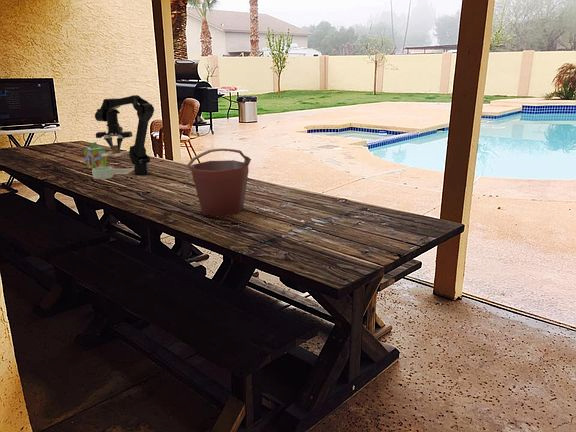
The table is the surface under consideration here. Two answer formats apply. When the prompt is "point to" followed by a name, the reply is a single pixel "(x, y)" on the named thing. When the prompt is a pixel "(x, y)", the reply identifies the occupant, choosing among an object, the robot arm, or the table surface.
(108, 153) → the beige square tray
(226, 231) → the table surface
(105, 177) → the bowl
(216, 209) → the bucket
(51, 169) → the table surface
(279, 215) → the table surface
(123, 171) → the mat
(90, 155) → the chalk box
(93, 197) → the table surface
